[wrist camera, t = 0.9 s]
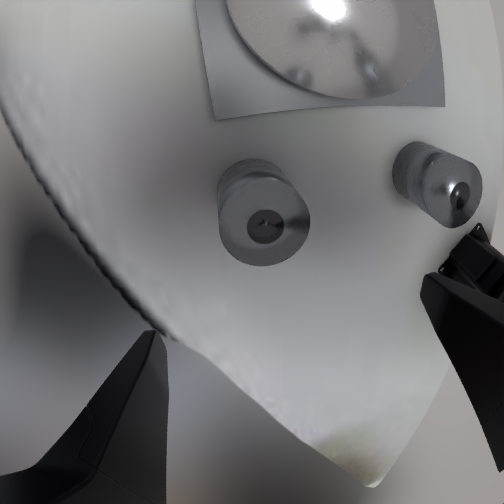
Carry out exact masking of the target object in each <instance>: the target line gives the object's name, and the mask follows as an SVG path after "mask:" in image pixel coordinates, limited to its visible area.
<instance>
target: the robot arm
mask: <svg viewBox="0 0 504 504" xmlns="http://www.w3.org/2000/svg"><path fill="white" fill-rule="evenodd" d="M479 225H480V228H479V229H478V230H477V227H478V226H479ZM442 267H444V270H443V271H440V270H441V268H442ZM438 273H439V274H438ZM438 273H436V272H432V273H429V274H426V275H425V276H424V278H423V283H422V287H421V292H420V298H421V301H422V303H423V305H424V307H425V309H426V312H427V314H428V316H429V318H430V321H431V323H432V325H433V327H434V330H435V332H436V334H437V336H438V338H439V340H440V341H441V343H442V345H443V347H444V349H445V351H446V353H447V354H448V356H449V358H450V360H451V362H452V364H453V366H454V368H455V370H456V372H457V373H458V376H459V378H460V379H461V382H462V384H463V386H464V388H465V390H466V392H467V395H468V397H469V399H470V401H471V403H472V405H473V408H474V410H475V412H476V415H477V417H478V419H479V421H480V424H481V426H482V429H483V432H484V434H485V437H486V439H487V442H488V444H489V447H490V449H491V452H492V455H493V458H494V460H495V463H496V466H497V469H498V471H499V472H501V471H502V470H504V256H503V255H502V254H501V253H500V252H499V251H497V250H496V249H495V248H494V247H493V246H491V244H490V242H489V240H488V237H487V235H486V233H485V231H484V228H483V226H482V224H481V223H478V224H477V225H476V226H475V227H474V228H473V230H472V231H471V232H470V233H469V234H468V235H466V236H465V237H464V239H463V240H462V241H461V242H460V243H459V244H458V246H457V247H456V248H455V249H454V250H453V251H452V252H451V254H450V256H449V257H448V259H447V260H446V261H445V262H444V263H443V264H442V265H441V266H440V268H439V269H438ZM167 367H168V366H167V350H166V347H165V345H164V342H163V340H162V338H161V336H160V334H159V332H158V331H157V330H155V329H153V330H146V331H144V332H143V333H142V335H141V336H140V337H139V338H138V339H137V341H136V342H135V343H134V344H133V346H132V347H131V348H130V350H129V351H128V352H127V353H126V355H125V356H124V357H123V358H122V360H121V361H120V362H119V363H118V365H117V366H116V367H115V369H114V370H113V371H112V372H111V374H110V375H109V376H108V378H107V379H106V380H105V381H104V383H103V384H102V385H101V387H100V388H99V389H98V391H97V392H96V393H95V395H94V396H93V397H92V398H91V400H90V401H89V403H88V404H87V407H85V408H84V409H83V410H82V412H81V413H80V414H79V416H78V417H77V418H76V419H75V421H74V422H73V423H72V425H71V426H70V427H69V428H68V429H67V430H66V432H65V433H64V434H63V435H62V436H61V437H60V438H59V440H58V441H57V442H56V443H55V444H54V445H53V446H52V447H51V448H50V449H49V451H48V452H47V453H46V454H45V455H44V456H43V457H42V459H40V460H39V461H38V462H37V463H36V464H35V465H33V466H32V467H30V468H28V469H25V470H22V471H18V472H14V473H10V474H6V475H2V476H0V504H166V455H167V423H168V403H169V386H168V368H167ZM503 504H504V503H503Z"/></svg>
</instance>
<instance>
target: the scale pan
mask: <svg viewBox="0 0 504 504" xmlns="http://www.w3.org/2000/svg"><path fill="white" fill-rule="evenodd" d="M226 3H227V7H228V11H229V14H230V17H231V19H232V21H233V24H234V26H235V28H236V29H237V31H238V33H239V35H240V36H241V38H242V39H243V41H244V42H245V43H246V45H247V46H248V47H249V48H250V50H251V51H252V52H253V53H254V54H255V55H256V56H257V57H258V58H259V59H260V60H261V61H262V62H263V63H264V64H266V65H267V66H268V67H269V68H270V69H272V70H273V71H274V72H276V73H277V74H279V75H280V76H282V77H283V78H285V79H286V80H288V81H290V82H292V83H294V84H296V85H298V86H300V87H302V88H305V89H308V90H310V91H313V92H316V93H320V94H323V95H327V96H333V97H339V98H346V99H369V98H377V97H381V96H386V95H389V94H391V93H394V92H396V91H398V90H400V89H402V88H404V87H406V86H407V85H408V84H410V83H411V82H412V81H413V80H415V79H416V78H417V77H418V76H419V74H420V73H421V72H422V71H423V70H424V68H425V67H426V65H427V64H428V62H429V60H430V58H431V55H432V53H433V50H434V47H435V43H436V36H437V17H436V9H435V5H434V2H433V0H226Z"/></svg>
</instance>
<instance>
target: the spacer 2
mask: <svg viewBox="0 0 504 504" xmlns="http://www.w3.org/2000/svg"><path fill="white" fill-rule="evenodd" d="M393 182H394V185H395V187H396V189H397V191H398V192H399V193H400V194H401V195H403V196H404V197H405V198H407V199H408V200H410V201H411V202H412V203H414V204H415V205H416V206H418V207H419V208H421V209H422V210H423V211H425V212H426V213H427V214H429V215H430V216H431V217H433V218H434V219H435V220H436V221H438V222H439V223H440V224H442V225H443V226H445V227H447V228H457V227H459V226H461V225H463V224H465V223H466V222H467V221H468V220H469V219H470V218H471V217H472V216H473V214H474V213H475V211H476V209H477V207H478V205H479V203H480V199H481V195H482V178H481V174H480V172H479V170H478V168H477V167H476V166H475V165H474V164H473V163H471V162H469V161H467V160H465V159H462V158H460V157H458V156H456V155H453V154H451V153H449V152H446V151H444V150H442V149H439V148H437V147H434V146H432V145H429V144H427V143H424V142H419V141H418V142H412V143H410V144H408V145H406V146H405V147H404V148H403V149H402V150H401V151H400V152H399V154H398V155H397V157H396V159H395V162H394V165H393Z"/></svg>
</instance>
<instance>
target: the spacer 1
mask: <svg viewBox="0 0 504 504" xmlns="http://www.w3.org/2000/svg"><path fill="white" fill-rule="evenodd" d="M217 197H218V215H219V231H220V237H221V240H222V243H223V245H224V246H225V248H226V249H227V251H228V252H229V253H230V254H231V255H232V256H233V257H235V258H236V259H237V260H239V261H241V262H243V263H246V264H249V265H254V266H269V265H274V264H277V263H280V262H282V261H285V260H286V259H288V258H290V257H291V256H292V255H294V254H295V253H296V252H297V251H298V250H299V249H300V248H301V246H302V245H303V243H304V242H305V240H306V238H307V235H308V232H309V228H310V215H309V211H308V208H307V206H306V204H305V202H304V200H303V199H302V198H301V197H300V195H299V194H298V193H297V191H296V190H295V189H294V188H293V186H292V185H291V184H290V183H289V181H288V180H287V179H286V177H285V176H284V175H283V174H282V172H281V171H280V170H279V169H278V168H277V167H276V166H274V165H273V164H271V163H270V162H267V161H265V160H261V159H247V160H243V161H240V162H238V163H236V164H234V165H232V166H231V167H230V168H229V169H228V170H227V171H226V172H225V173H224V174H223V176H222V178H221V179H220V182H219V185H218V190H217Z"/></svg>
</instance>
